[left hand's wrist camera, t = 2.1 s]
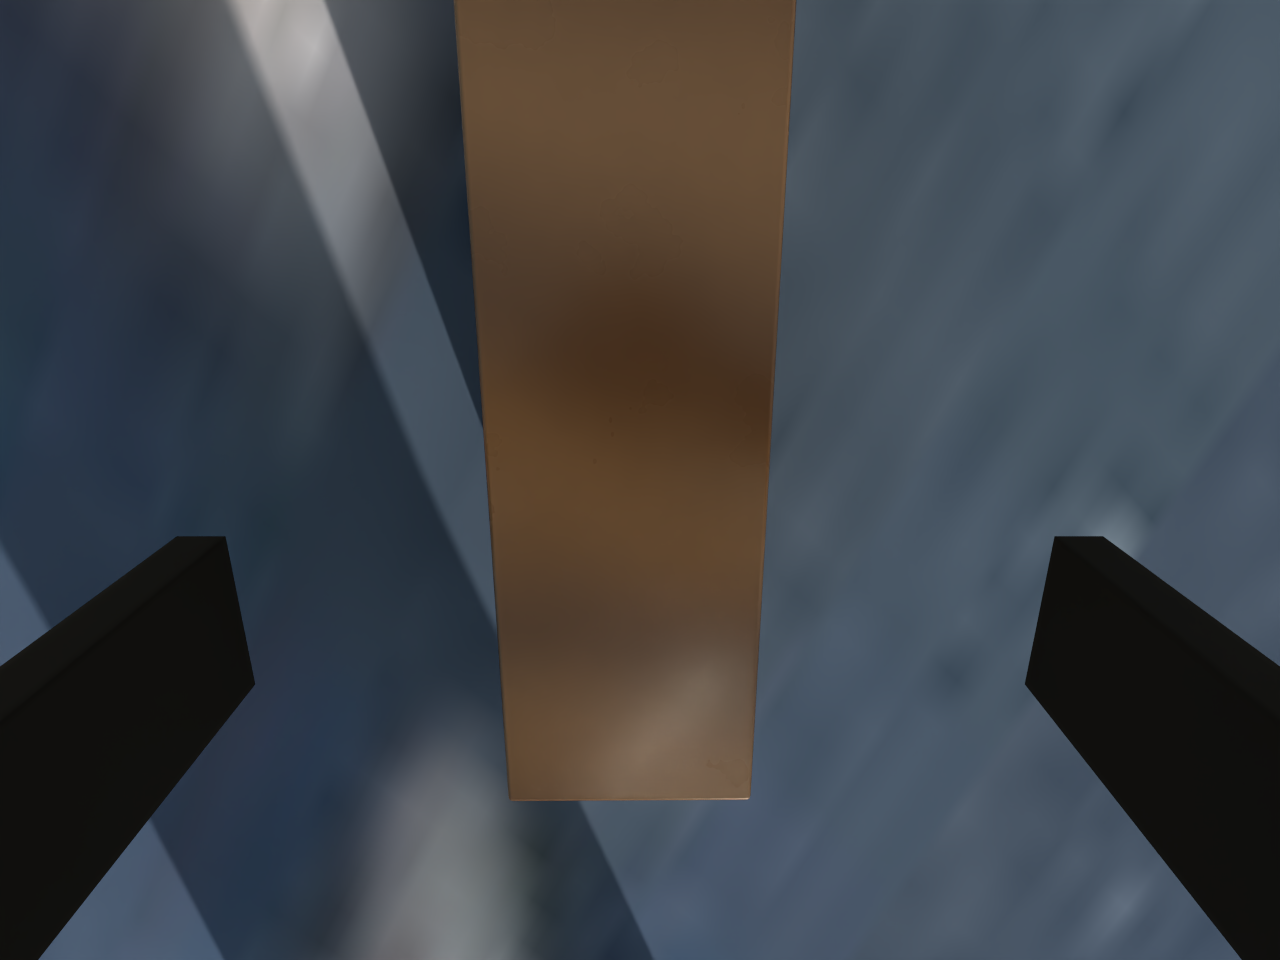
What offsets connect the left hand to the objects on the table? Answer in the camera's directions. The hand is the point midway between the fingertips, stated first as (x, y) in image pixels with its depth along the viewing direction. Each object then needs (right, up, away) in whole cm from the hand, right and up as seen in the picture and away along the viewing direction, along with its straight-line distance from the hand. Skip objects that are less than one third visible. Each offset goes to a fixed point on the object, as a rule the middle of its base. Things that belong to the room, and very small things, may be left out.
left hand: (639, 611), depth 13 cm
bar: (0, +35, -4) cm, 35 cm away
